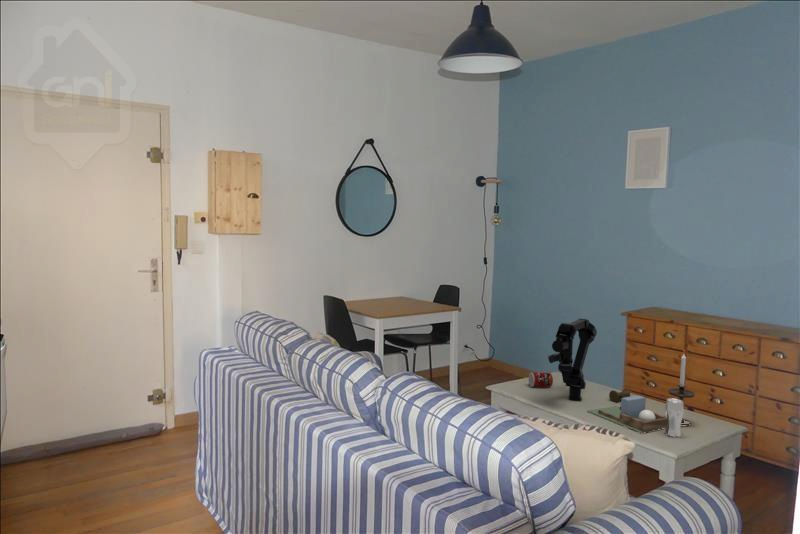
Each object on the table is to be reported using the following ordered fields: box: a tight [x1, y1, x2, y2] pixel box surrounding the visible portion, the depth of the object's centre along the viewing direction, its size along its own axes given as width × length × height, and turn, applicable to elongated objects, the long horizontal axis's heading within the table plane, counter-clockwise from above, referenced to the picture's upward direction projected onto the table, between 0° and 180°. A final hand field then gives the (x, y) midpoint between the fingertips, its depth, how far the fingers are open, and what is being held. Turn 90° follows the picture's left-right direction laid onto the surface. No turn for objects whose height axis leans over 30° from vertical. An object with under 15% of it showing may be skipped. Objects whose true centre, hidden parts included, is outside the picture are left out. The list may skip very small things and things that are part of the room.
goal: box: [587, 405, 667, 434], centre depth 270 cm, size 32×19×4 cm, turn 27°
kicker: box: [620, 395, 647, 419], centre depth 268 cm, size 4×11×10 cm, turn 117°
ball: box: [639, 409, 656, 421], centre depth 261 cm, size 7×7×7 cm
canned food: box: [528, 372, 554, 388], centre depth 321 cm, size 8×8×11 cm
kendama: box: [608, 389, 631, 403], centre depth 296 cm, size 6×10×20 cm
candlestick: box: [667, 347, 696, 425], centre depth 266 cm, size 11×11×35 cm
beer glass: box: [664, 397, 685, 437], centre depth 251 cm, size 7×7×15 cm
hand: (564, 380), depth 289 cm, fingers open, 9 cm apart
